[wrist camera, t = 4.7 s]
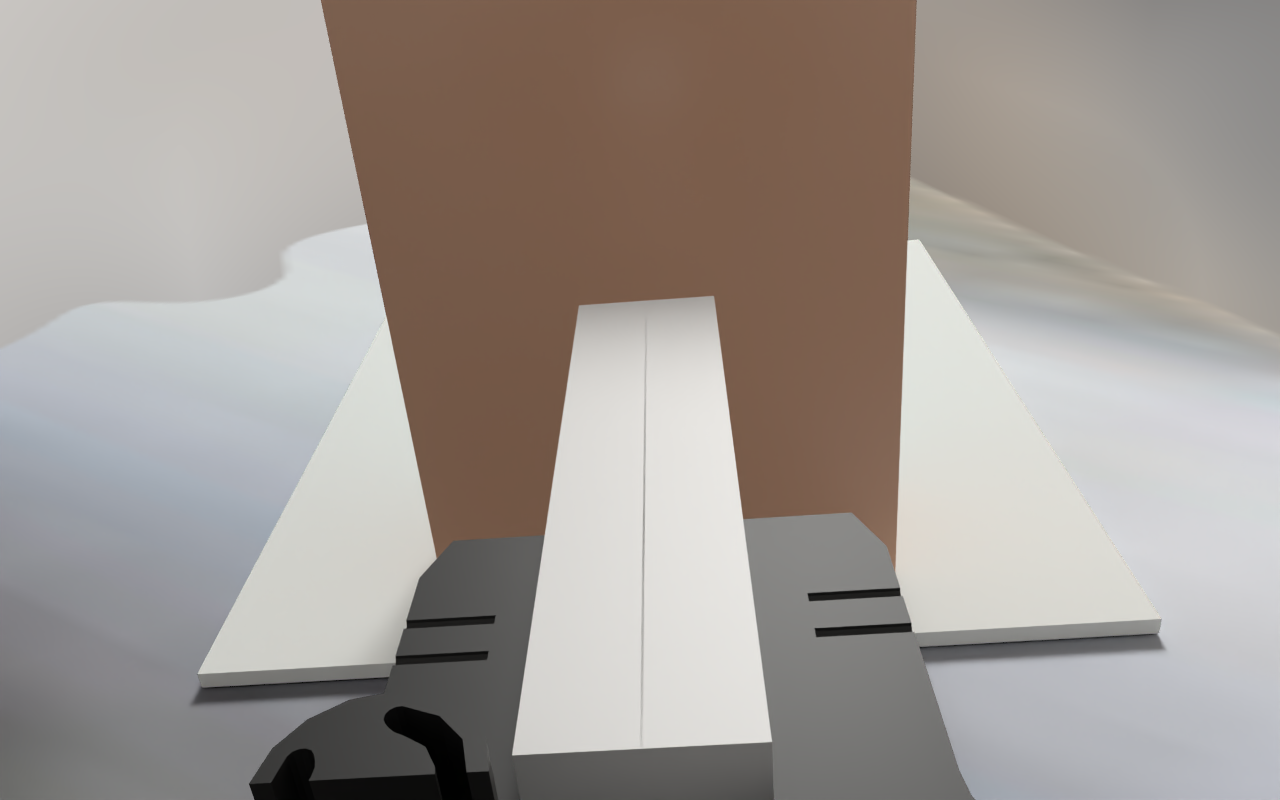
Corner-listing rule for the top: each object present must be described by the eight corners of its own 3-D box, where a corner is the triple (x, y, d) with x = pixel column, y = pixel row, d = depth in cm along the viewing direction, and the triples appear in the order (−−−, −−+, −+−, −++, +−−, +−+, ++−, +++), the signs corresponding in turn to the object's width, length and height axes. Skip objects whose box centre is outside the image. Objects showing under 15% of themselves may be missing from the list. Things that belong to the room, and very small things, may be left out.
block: (446, 603, 20) (291, -140, 14) (473, 499, 23) (355, -149, 17) (895, 577, 19) (923, -199, 14) (861, 474, 22) (874, -196, 17)
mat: (202, 687, 19) (197, 674, 18) (408, 286, 34) (406, 277, 34) (1158, 633, 18) (1161, 618, 18) (918, 248, 34) (919, 239, 34)
